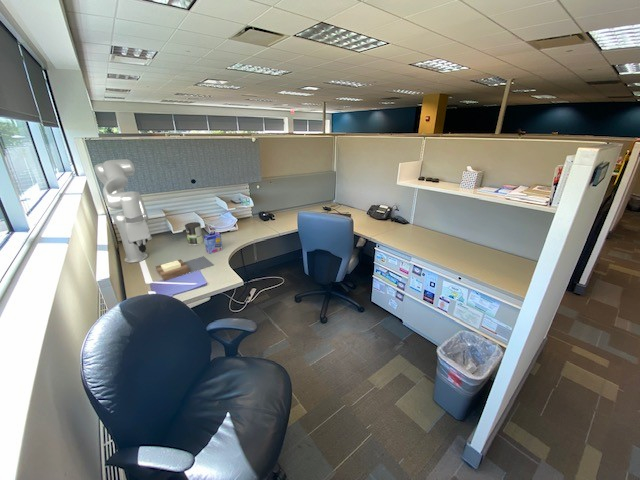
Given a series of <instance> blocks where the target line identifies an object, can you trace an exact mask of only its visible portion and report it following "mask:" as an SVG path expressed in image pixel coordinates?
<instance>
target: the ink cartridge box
mask: <svg viewBox="0 0 640 480" xmlns="http://www.w3.org/2000/svg"><path fill="white" fill-rule="evenodd" d="M203 242H204V245H205V252H206V253H208V254H209V255H210V254H213V253H217V252H221V251H223V246H222V245H223V242H222V235H221V233H220V232H218V231H210V233H207V234H204V235H203Z"/></svg>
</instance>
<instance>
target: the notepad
mask: <svg viewBox="0 0 640 480" xmlns="http://www.w3.org/2000/svg"><path fill="white" fill-rule="evenodd" d="M160 265H161V268H162V269H163V271H164V272H166V271H169V270H173V269H176V268H179V267H181V264H180V263H179V262H178V261H176V260H173V261H170V263H169V262H167V263H163V264H160Z"/></svg>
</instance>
